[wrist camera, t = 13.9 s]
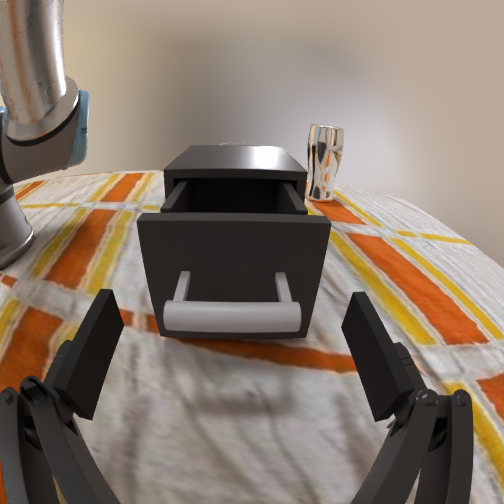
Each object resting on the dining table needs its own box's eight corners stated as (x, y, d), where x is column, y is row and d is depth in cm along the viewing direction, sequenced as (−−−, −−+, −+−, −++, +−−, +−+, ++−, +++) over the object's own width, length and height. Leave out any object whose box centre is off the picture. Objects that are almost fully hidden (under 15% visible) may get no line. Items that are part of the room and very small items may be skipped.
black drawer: (317, 385, 17) (360, 265, 12) (149, 383, 16) (105, 262, 11) (283, 251, 32) (291, 170, 27) (185, 250, 32) (180, 168, 27)
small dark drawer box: (293, 280, 29) (307, 171, 23) (174, 279, 28) (163, 169, 22) (276, 223, 42) (282, 147, 36) (193, 222, 41) (190, 145, 35)
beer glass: (340, 204, 52) (351, 130, 44) (308, 203, 51) (316, 125, 43) (328, 193, 58) (336, 126, 50) (298, 191, 57) (304, 122, 49)
